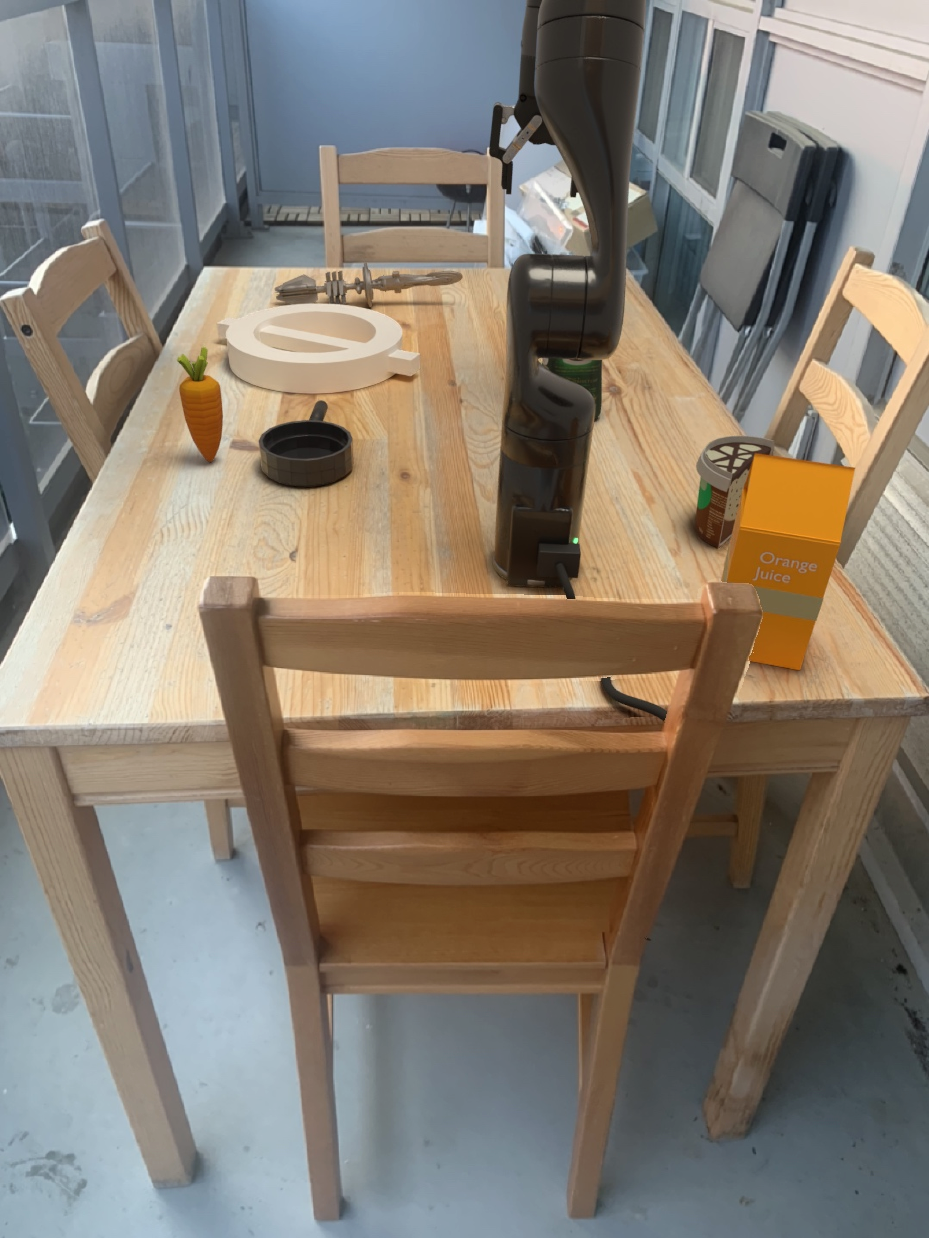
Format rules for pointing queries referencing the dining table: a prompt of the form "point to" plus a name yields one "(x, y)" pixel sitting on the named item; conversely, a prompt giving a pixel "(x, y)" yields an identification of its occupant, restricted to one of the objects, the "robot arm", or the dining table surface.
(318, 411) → the pan handle
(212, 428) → the carrot
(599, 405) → the coffee jar
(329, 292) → the spaceship
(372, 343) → the white circle with bar
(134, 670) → the dining table surface
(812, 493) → the orange juice
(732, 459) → the food container
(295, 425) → the pan
